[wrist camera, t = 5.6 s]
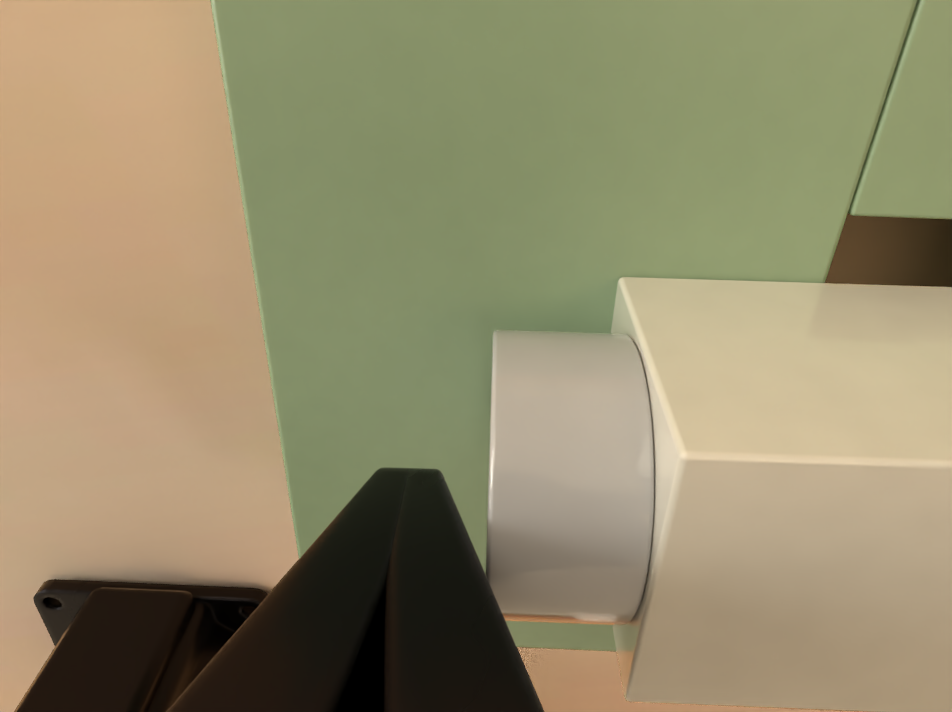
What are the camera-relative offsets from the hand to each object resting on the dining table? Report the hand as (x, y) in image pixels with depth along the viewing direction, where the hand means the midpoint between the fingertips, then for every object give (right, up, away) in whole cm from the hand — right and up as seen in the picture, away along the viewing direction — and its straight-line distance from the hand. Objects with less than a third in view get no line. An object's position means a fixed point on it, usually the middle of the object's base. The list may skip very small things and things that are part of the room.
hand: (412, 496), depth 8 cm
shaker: (+4, +1, +2) cm, 5 cm away
